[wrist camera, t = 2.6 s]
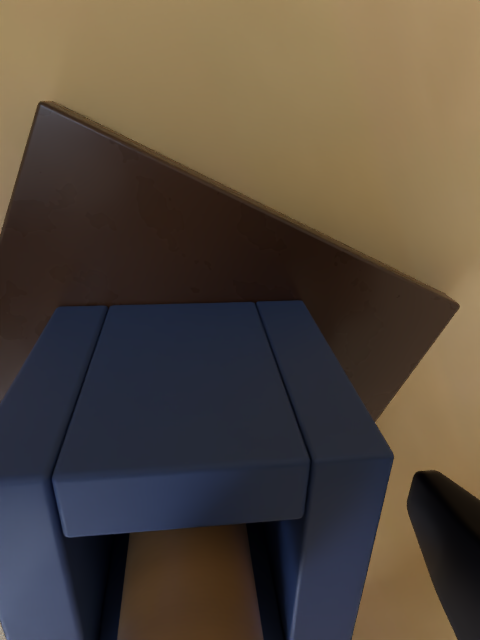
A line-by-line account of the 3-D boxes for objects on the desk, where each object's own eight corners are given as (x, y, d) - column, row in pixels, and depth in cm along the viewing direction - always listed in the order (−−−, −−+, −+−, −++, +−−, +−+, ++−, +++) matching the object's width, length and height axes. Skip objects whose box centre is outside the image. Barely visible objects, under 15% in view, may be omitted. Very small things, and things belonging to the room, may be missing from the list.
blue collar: (87, 489, 12) (31, 721, 8) (55, 304, 10) (-53, 484, 5) (285, 475, 13) (342, 681, 8) (302, 299, 10) (396, 455, 6)
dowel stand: (-60, 469, 12) (-402, 998, 5) (49, 99, 9) (-579, 111, 1) (264, 546, 15) (338, 949, 8) (445, 293, 12) (870, 610, 4)
